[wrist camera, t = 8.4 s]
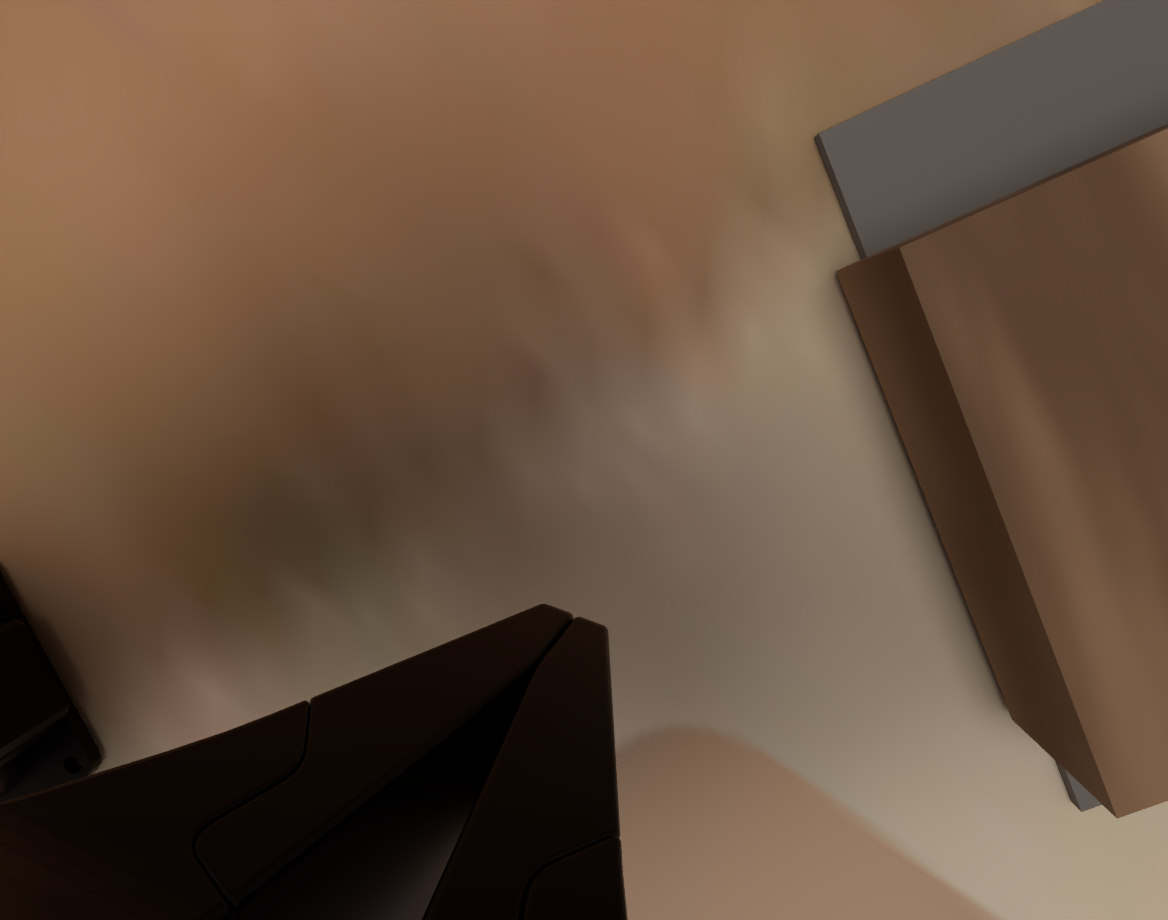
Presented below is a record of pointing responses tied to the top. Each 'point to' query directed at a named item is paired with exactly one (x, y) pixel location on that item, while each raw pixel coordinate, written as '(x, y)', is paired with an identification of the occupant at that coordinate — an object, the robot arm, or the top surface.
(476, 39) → the top surface
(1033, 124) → the mat
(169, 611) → the top surface
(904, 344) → the block
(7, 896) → the robot arm
